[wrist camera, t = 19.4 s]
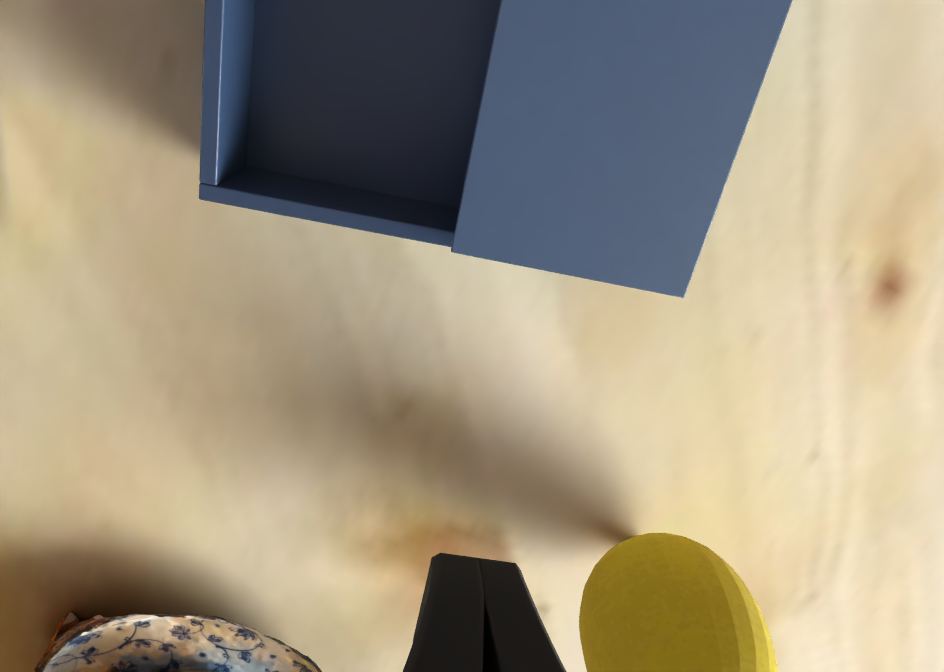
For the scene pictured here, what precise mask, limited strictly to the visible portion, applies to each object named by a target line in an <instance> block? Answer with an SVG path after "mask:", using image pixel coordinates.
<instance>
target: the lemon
mask: <svg viewBox="0 0 944 672" xmlns="http://www.w3.org/2000/svg"><path fill="white" fill-rule="evenodd" d="M579 629H580V638H581V644H582V649H583V655H584V660H585V664H586V668H587V672H778V667H777V662H776V657H775V652H774V648H773V643H772V640H771V636H770V633H769V630H768V627H767V624H766V621H765V619H764V617H763V615H762V612H761V610H760V608H759V607H758V605H757V603H756V601H755V600H754V598H753V596H752V595H751V593H750V592H749V590H748V588H747V587H746V585H745V584H744V582H743V581H742V579H741V578H740V577H739V575H738V574H737V573H736V572H735V571H734V569H733V568H732V567H731V566H730V565H729V564H727V563H726V562H725V561H724V560H723V559H722V558H720V557H719V556H718V555H717V554H715V553H714V552H713V551H712V550H710V549H709V548H708V547H706V546H704V545H702V544H700V543H698V542H695V541H693V540H691V539H688V538H686V537H683V536H679V535H673V534H668V533H648V534H643V535H639V536H634V537H632V538H630V539H627V540H625V541H623V542H621V543H619V544H617V545H616V546H615V547H613V548H612V549H610V550H609V551H608V552H607V553H606V554H605V555H604V556H603V557H602V558H601V559H600V560H599V562H598V563H597V564H596V565H595V567H594V569H593V571H592V572H591V574H590V576H589V578H588V580H587V582H586V584H585V587H584V591H583V596H582V601H581V607H580V616H579Z"/></svg>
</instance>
